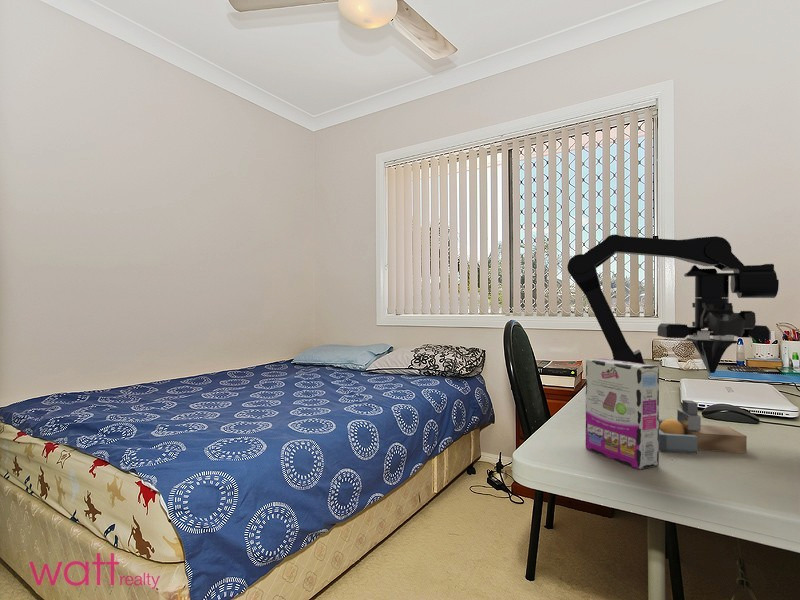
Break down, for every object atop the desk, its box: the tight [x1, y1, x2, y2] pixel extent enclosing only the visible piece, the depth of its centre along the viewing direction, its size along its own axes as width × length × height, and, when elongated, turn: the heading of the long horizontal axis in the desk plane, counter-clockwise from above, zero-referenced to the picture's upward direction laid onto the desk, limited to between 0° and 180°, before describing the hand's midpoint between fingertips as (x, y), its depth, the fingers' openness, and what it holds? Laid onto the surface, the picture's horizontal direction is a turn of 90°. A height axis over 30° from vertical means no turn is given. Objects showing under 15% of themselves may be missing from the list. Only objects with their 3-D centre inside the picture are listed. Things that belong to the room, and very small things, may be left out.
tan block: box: [684, 424, 748, 454], centre depth 80 cm, size 8×6×3 cm
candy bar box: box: [585, 358, 660, 470], centre depth 74 cm, size 11×5×16 cm, turn 23°
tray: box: [659, 418, 698, 455], centre depth 82 cm, size 6×11×3 cm, turn 168°
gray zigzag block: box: [676, 399, 702, 431], centre depth 81 cm, size 2×5×5 cm, turn 168°
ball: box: [660, 418, 684, 435], centre depth 82 cm, size 4×4×4 cm
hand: (711, 372), depth 90 cm, fingers closed
